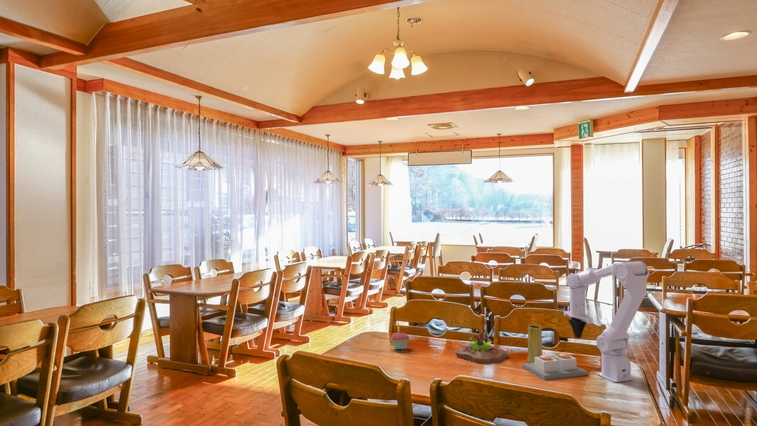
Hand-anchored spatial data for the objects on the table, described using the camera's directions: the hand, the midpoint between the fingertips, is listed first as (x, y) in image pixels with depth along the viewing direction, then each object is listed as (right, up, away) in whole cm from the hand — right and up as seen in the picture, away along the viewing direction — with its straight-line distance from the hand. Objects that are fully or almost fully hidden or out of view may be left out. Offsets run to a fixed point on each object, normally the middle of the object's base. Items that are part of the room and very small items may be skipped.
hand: (577, 337), depth 184 cm
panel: (-13, -10, -9) cm, 19 cm away
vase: (-16, -11, +3) cm, 20 cm away
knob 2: (-9, -9, -9) cm, 15 cm away
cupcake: (-70, -11, +22) cm, 75 cm away
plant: (-36, -11, +12) cm, 39 cm away
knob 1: (-17, -9, -11) cm, 22 cm away
